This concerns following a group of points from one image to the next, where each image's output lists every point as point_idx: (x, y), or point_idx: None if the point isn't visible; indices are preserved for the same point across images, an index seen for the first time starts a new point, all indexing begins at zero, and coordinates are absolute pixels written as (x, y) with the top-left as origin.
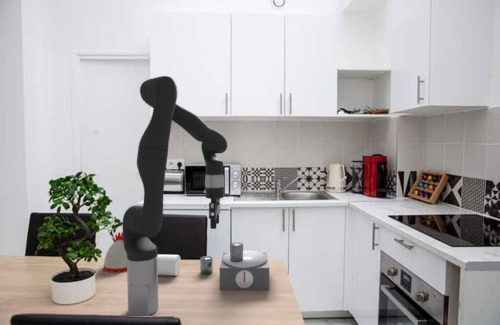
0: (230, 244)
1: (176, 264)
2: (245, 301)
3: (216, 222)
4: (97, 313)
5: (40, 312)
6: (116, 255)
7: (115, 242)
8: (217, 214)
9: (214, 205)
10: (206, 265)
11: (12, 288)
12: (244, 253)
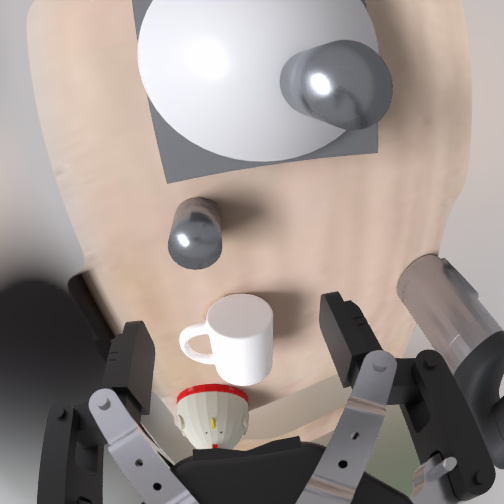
0: (355, 126)
1: (256, 318)
2: (404, 55)
3: (147, 339)
4: (412, 331)
5: None
6: (247, 427)
7: None
8: (129, 397)
9: (486, 464)
10: (219, 227)
11: (316, 435)
12: (198, 56)
